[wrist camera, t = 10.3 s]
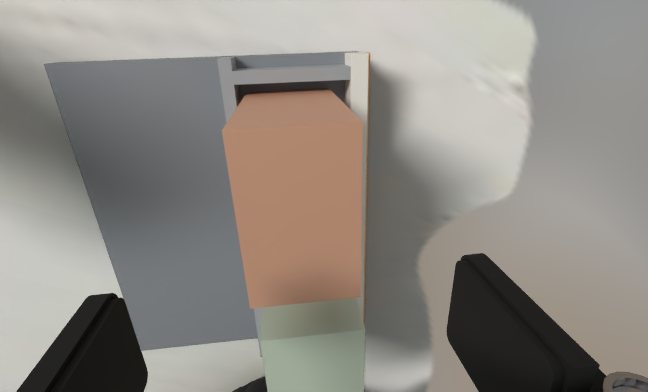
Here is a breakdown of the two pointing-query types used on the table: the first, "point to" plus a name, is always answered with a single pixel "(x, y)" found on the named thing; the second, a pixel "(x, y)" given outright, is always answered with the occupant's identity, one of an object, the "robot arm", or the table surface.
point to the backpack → (254, 386)
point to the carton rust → (296, 195)
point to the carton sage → (314, 347)
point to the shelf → (183, 178)
